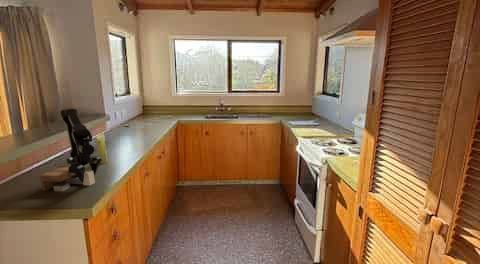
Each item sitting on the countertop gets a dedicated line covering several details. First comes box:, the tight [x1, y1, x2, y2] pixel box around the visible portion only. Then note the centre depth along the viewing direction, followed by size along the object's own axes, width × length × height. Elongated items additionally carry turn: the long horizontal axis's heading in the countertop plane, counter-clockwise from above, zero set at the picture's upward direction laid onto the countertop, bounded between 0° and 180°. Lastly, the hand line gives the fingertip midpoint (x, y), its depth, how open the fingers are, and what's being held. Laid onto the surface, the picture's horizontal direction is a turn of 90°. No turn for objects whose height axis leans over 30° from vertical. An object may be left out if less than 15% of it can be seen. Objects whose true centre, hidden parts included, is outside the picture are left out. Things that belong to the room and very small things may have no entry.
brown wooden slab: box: [39, 165, 77, 192], centre depth 143 cm, size 14×12×8 cm
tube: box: [94, 133, 109, 164], centre depth 177 cm, size 6×5×20 cm
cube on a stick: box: [64, 169, 96, 186], centre depth 145 cm, size 4×16×7 cm, turn 82°
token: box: [52, 181, 71, 192], centre depth 139 cm, size 5×5×3 cm
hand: (88, 178), depth 145 cm, fingers open, 9 cm apart
